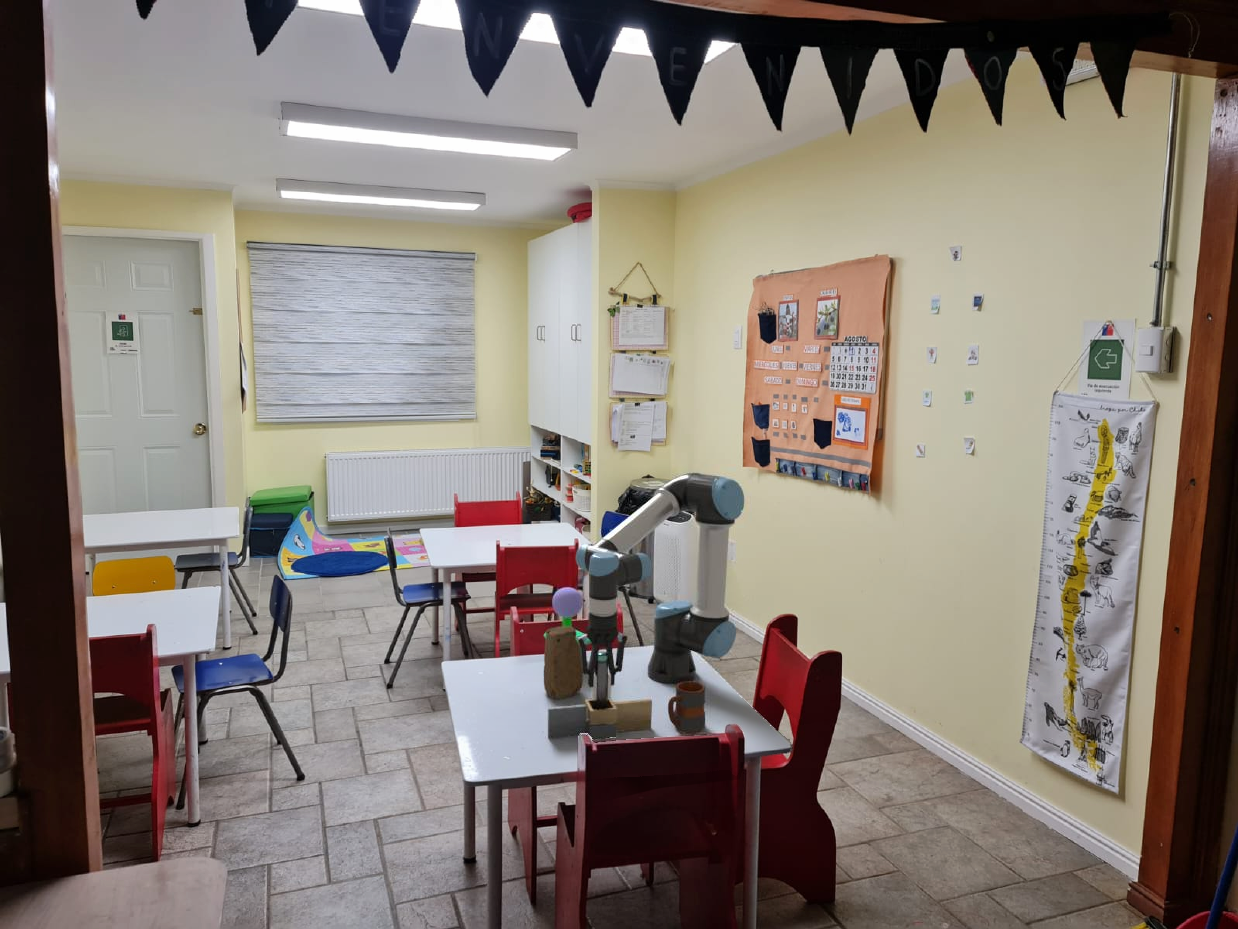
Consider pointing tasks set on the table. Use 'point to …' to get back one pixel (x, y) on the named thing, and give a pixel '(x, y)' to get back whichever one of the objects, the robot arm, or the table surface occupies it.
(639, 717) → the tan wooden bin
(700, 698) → the mug
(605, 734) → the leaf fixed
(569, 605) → the toy character
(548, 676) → the brown rounded block
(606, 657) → the pin
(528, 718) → the table surface
